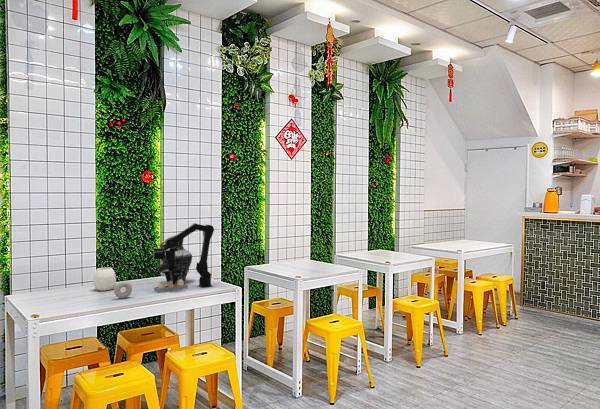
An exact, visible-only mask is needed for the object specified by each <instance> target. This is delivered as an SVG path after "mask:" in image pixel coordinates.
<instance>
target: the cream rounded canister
mask: <svg viewBox="0 0 600 409" xmlns="http://www.w3.org/2000/svg"><path fill="white" fill-rule="evenodd" d="M92 279H93V286H94V289H95V290H96V291H101V292H103V291H104V292H107V291H111V290H114V288H115V286H116V284H117V276H116V272H115V270H114V269H113V268H112V267H108V266H106V267H99V268H96V270H95V272H94V275H93V278H92ZM106 290H107V291H106Z"/></svg>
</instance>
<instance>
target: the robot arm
mask: <svg viewBox="0 0 600 409" xmlns="http://www.w3.org/2000/svg"><path fill="white" fill-rule="evenodd" d="M196 231H199V232H200V231H201V232H202V236H203V237H202V238H203V240H202V247H201V254H200V258H199V260H198V262H196V267H195V270H196V272H197V273H198V274H199V276H200V277H199V281H198V287H200V288H210V287H213V285H212V277H211V276H212V273H211V272H210V271H208V268H209V266H208V257H209V252H210V244H211V239H212V236H213V234H214V232H215V228H214V226H213V225H211V224H205V225H203V224H199V223H195V222H194V223H192V224H191V225H190V226H189V227H187V228H185V229H184V230H182V231H180V232H179V233H177V234H176V235H173V236H170V237H168V238H166V239H165V240H164V241H165V243H163V247H162V248H160V247H159V248H153V251H152V252H153V253H152V258H153V261H154V260H156V261H157V260H161V259H163V258H164V257H165V252H166V260H165V261H164V263H163V262H162V263H160V264H159V265H156V269H157V272H159V273H162V274H164V276H165V280H166V282H167V283H168V282H169V281H170V277H171V276H172V281H173V285H175V284H177V283H176V281H177V279H178V277H179V275H180V273H181V269H179V268H177V267H176V266H175V262H177V260H175V251H178V249H177V248H176V247H174V246H176V245H177V244H178V243H179V241H180V240H182V239H183V238H184V239H185V238H186V237H187V236H189V235H191V234H192V233H194V232H196ZM173 247H174V248H173ZM170 248H172V249H170Z"/></svg>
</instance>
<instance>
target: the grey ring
mask: <svg viewBox="0 0 600 409" xmlns="http://www.w3.org/2000/svg"><path fill="white" fill-rule="evenodd" d="M122 288H125V291H124V292H122V290H121V289H122ZM132 292H133V286H132V284H131V283H130V282H128V281H126V280H123V281H119V282H116V285H115V287H114V288H113V293H114V295H115V296H116V297H117V298H118V299H126V298H128V297H130V295H131V294H132Z"/></svg>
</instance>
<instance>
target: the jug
mask: <svg viewBox="0 0 600 409" xmlns="http://www.w3.org/2000/svg"><path fill="white" fill-rule="evenodd" d="M184 239H185V238H183V239H182V240H180V241H179V243H178V244H177V245H176V246H174V247H176V248H177V249H178V251H175V260H177V262H175V266H176V267H177V268H179V269H181V273H180V275H179V277H178V279H177V281H178V280H180V279H182V280H183V281H184V282H185V281H186V278H187V276H188V272H189V269H190V267H191V264H192V261H193V254H192V253H191V251H189V250H187V249H186V248H184V245H183V243H184V241H185V240H184ZM159 244H160V245H159V248H162V247H163V246H164V244H165V240H163V241H161V242H160V243H159ZM174 247H173V248H174ZM169 249H172V248H169ZM160 260H161V262H162V264H163V263H164V261H165V260H166V252H165V257H164V258H163V259H160ZM170 281H172V276H171V277H170ZM177 281H176V283H175V284H177Z"/></svg>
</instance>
